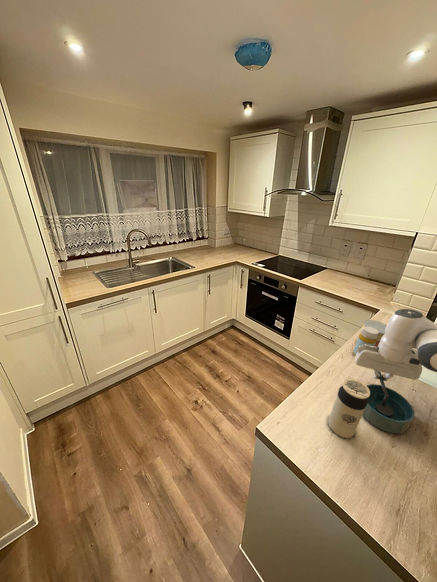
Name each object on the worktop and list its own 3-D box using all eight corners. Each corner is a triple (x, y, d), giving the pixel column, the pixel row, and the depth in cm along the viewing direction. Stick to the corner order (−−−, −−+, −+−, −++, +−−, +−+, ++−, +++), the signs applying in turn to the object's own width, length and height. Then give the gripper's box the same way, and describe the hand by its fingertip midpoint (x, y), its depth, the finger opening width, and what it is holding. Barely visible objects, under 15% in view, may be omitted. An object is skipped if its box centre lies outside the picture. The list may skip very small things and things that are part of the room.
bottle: (354, 358, 109) (364, 332, 102) (351, 349, 115) (360, 323, 108) (371, 362, 107) (382, 335, 100) (367, 352, 113) (377, 326, 107)
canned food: (383, 344, 119) (391, 325, 114) (382, 357, 110) (391, 336, 105) (358, 336, 124) (365, 317, 119) (356, 348, 116) (363, 327, 111)
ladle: (381, 384, 94) (386, 372, 91) (393, 421, 79) (399, 408, 77) (367, 381, 95) (371, 368, 93) (376, 416, 81) (381, 403, 78)
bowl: (400, 403, 87) (406, 392, 85) (414, 441, 74) (421, 429, 72) (354, 390, 92) (359, 379, 89) (360, 424, 79) (366, 412, 76)
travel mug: (330, 411, 83) (344, 373, 75) (355, 424, 79) (372, 385, 71) (325, 428, 77) (339, 389, 70) (352, 443, 73) (370, 403, 65)
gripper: (361, 348, 84) (350, 376, 90) (430, 364, 78) (413, 393, 84) (358, 338, 90) (349, 365, 96) (423, 352, 83) (408, 380, 89)
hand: (379, 378), depth 90 cm, fingers closed on ladle
